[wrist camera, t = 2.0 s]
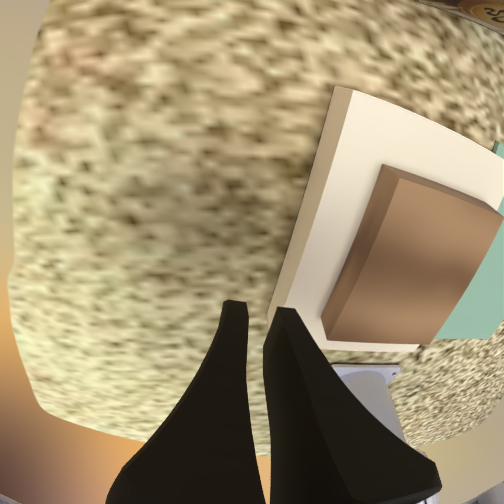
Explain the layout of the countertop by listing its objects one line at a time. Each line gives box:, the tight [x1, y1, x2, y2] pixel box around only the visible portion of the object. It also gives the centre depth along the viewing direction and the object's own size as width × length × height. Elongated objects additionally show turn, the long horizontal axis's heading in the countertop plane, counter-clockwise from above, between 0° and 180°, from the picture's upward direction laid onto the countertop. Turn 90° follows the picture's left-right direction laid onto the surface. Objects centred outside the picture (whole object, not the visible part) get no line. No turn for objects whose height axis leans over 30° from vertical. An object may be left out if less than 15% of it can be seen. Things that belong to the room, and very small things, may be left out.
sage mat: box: [434, 141, 504, 339], centre depth 21 cm, size 18×14×1 cm
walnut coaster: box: [321, 164, 504, 344], centre depth 16 cm, size 10×8×2 cm
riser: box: [267, 86, 504, 352], centre depth 18 cm, size 16×12×3 cm
